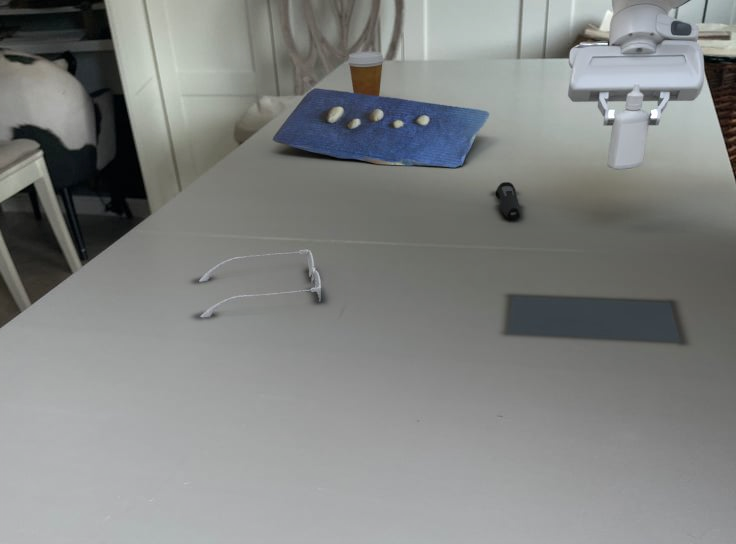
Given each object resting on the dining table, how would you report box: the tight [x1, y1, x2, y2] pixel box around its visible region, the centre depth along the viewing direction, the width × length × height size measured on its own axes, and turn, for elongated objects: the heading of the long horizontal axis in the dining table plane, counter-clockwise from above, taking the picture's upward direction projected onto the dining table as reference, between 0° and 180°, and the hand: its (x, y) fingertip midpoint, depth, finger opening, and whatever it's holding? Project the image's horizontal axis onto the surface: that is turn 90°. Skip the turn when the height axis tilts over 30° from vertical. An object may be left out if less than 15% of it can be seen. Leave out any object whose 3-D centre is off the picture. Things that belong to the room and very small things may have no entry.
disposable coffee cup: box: [347, 51, 385, 96], centre depth 214 cm, size 10×10×12 cm
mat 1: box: [272, 87, 490, 168], centre depth 185 cm, size 45×27×12 cm, turn 69°
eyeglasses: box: [198, 249, 322, 318], centre depth 122 cm, size 15×18×4 cm
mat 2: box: [508, 296, 681, 343], centre depth 111 cm, size 22×12×1 cm, turn 79°
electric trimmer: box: [495, 181, 521, 219], centre depth 148 cm, size 4×16×3 cm, turn 177°
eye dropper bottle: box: [606, 84, 650, 171], centre depth 127 cm, size 4×6×12 cm
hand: (631, 123), depth 126 cm, fingers closed on eye dropper bottle, 5 cm apart
